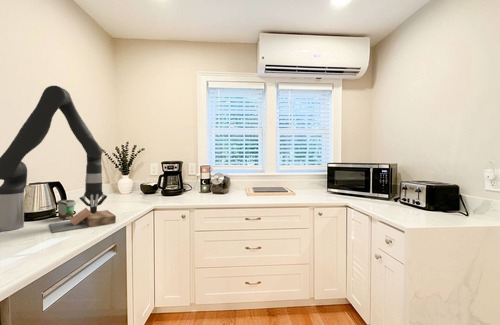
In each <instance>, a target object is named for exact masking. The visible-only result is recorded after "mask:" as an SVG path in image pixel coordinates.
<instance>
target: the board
mask: <svg viewBox="0 0 500 325" xmlns="http://www.w3.org/2000/svg"><path fill="white" fill-rule="evenodd" d="M116 218H117V216H116V214H114V213H112V212H111V211H109V209H105V210H103V209H102V210H97V212H95V213H94V214H92V213H91V214H90V215H89V216H87V217H86V218H84V219H83V220H82V221H83V222H84V223H85V224H86V225H87V226H88V227H87V228H93V227H99V226H106V225H110V224H111V225H112V224H116V220H117V219H116Z"/></svg>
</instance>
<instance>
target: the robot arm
mask: <svg viewBox="0 0 500 325" xmlns="http://www.w3.org/2000/svg"><path fill="white" fill-rule="evenodd" d="M58 110H60V112H61V113H62V114H63V116H64V118H65V119H66V122H67V124H68V126H69V128H70V131H71V132H72V134H73V135H74V137H75V139H77V141H78V142H79V143H80V145H81V146H82V147H83V150H84V151H85V154H86V167H85V168H86V171H85V179H84V180H85V182H84V183H85V184H84V185H85V186H84V187H85V188H84V189H85V191H84V194H83V195H82V196H80V197H78V198H79V200H80V201H81V202H82V203H84V205H85V206H87V207H89V211H90V212H91V213H92V214H94V213H95V212H97V211H98V206H101V205H102V204H103V203H104V201H105V200H106V199H107V198H108V196H107V194H104V192H103V168H102V154H103V149H102V148H101V146H100V144H98V142H97V141H96V139H95V138H94V136H93V134H92V132H91V131H90V129H89V127H88V126H87V125H86V123H85V122H84V120H83V118H82V117H81V116H80V114H79V112H78V110H77V109H76V106H75V104H74V101H73V99H72V97H71V94H70V93H69V91H67V89H64V88H63V87H61V86H58V85H49V86H47V87H46V88H45V89H44V90H43V92H42V93H41V96H40V98H39V100H38V103H37V105H36V106H35V108H34V109H33V110H32V112H31V113H30V115H29V116H28V117H27V119H26V121H25V122H24V123H23V124H22V126H21V127H20V129H19V131H18V132H17V134H16V136H15V137H14V139H13V140H12V142H11V143H10V144H9V146H8V147H7V149H6V150H5V151H4V152H3V154H2V155H1V156H0V180H2V181H3V183H2V184H1V185H0V232H1V231H2V232H6V231H13V230H18V229H21V228H24V225H25V189H26V187H27V183H28V167H27V165H26V163H24V162H23V161H22V160H23V159H24V158H25V157H26V156H27V155H28V154H29V153H30V152H32V151H33V150H34V149H35V148H37V147H38V146H39V145H40V144H41V143H42V142H43V141H44V139H45V138H46V136H47V135H48V133H49V130H50V128H51V124H52V122H53V118H54V116H55V114H56V112H57V111H58ZM86 199H87V200H88V201H89V202H88V201H86Z"/></svg>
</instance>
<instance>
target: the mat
mask: <svg viewBox="0 0 500 325" xmlns="http://www.w3.org/2000/svg"><path fill="white" fill-rule="evenodd" d="M48 226H49V228H50V230H51V232H52V233H53V234H56V233H62V232H68V231H74V230H80V229H86V228H89V227H88V226H87V225H86V223H85V222H84V221H83V220H82V221H80V222H79V223H78V224H76V225H75V226H74V225H73V224H72V223H71V222H70V220H66V221H59V222H53V223H49V224H48Z"/></svg>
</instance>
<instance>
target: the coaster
mask: <svg viewBox="0 0 500 325" xmlns="http://www.w3.org/2000/svg"><path fill="white" fill-rule="evenodd" d="M90 214H91V212H90V209H89V208H87V207H85V208H83V209H82V210H81V211H79V212H77V213H76V214H75V215H73V217H72V218H71V219H69V220H68V221H70V222H71V223H72V224H73V225H74V226H75V225H76V224H78V223H79V222H80V221H83V219H84V218H86V217H87V216H89V215H90Z"/></svg>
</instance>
